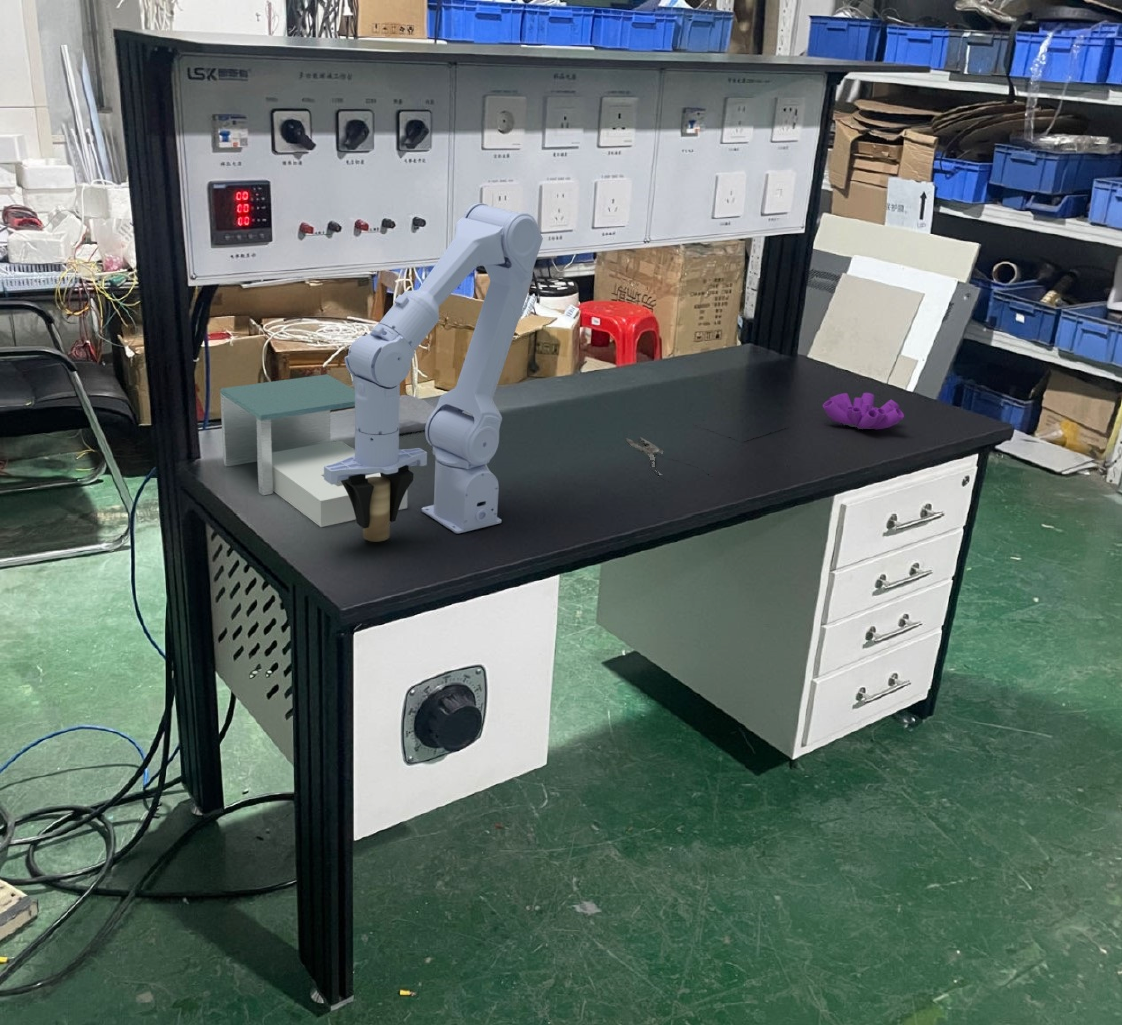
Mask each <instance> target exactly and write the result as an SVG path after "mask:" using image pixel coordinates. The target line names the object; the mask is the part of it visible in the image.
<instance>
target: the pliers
mask: <svg viewBox="0 0 1122 1025" xmlns="http://www.w3.org/2000/svg"><path fill="white" fill-rule="evenodd" d="M639 439H640V440H641V441H642V442H644V443H643V445H640V443H638V442H634V440H632V439H629V438H627V437H626V439H625V441H627V442H628V443H629V444H630V445H631V446H632V447H635V448H637V449H638V450H640V451H642V452H645V453H646V454H647V455H648V456H649V457H650V460H654V461H655V458H656V456H655V457H654V455H653V454H654V453H661V454H663V452H665V451H664V450H662V449H661V448H659V447H658V446H657V445H656V444H653V443H651V442H650V441H648V440H646V439H645V438H643V437H641V436H640V437H639V438H638V440H639ZM640 440H639V441H640ZM641 441H640V442H641ZM627 442H626V443H627ZM642 442H641V443H642ZM628 443H627V444H628ZM629 444H628V445H629ZM644 444H645V445H649V446H644ZM630 445H629V446H630ZM631 446H630V447H631ZM650 460H649V461H650ZM654 461H653V462H652V463H653V464H652V467H655V462H654ZM655 471H656V470H655ZM657 471H658V470H657ZM657 471H656V472H657ZM658 473H659V475H663V474H662V473H660V472H659V471H658Z"/></svg>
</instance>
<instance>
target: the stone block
mask: <svg viewBox="0 0 1122 1025" xmlns="http://www.w3.org/2000/svg"><path fill="white" fill-rule="evenodd" d="M435 408H436V407H434V406H433V405H431V404H430V403H428V402H426V400H424V399H421V398H419V397H418V396H412V395H407V394H402V395H400V403H399V435H400V434H405V433H406V434H407V433H414V432H415V433H416V432H421V431H425V427H426V423H427V420H428V418H429V416H430V415H431V414H432V412H433V411H434V410H435Z"/></svg>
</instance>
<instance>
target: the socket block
mask: <svg viewBox="0 0 1122 1025" xmlns="http://www.w3.org/2000/svg"><path fill="white" fill-rule="evenodd" d="M354 455H355V448H353V447H351V446H349V445H348V444H346V443H345V442H344V441H342V440H336V441H331V442H329V443H323V444H318V445H312V446H306V447H300V448H295V449H289V450H283V451H277V452H272V484H273V493H275V494H276V495H278V496H279V497H280V498H282V499H283V500H284V501H286V502H287V503H289V504H290V505H291V507H293V508H295V509H297V511H299V512H301V514H302V515H304V516H306V518H308V519H310V520H311V521H312V522H314V523H315V524H316V525H317V526H319V527H320V528H324V527H329V526H333V525H337V524H338V525H339V524H341V523H347V522H351V521H354V520H355V521H356V517H355V513H354V509H353V506H352V503H351V500H350V498H349V495H348V493H347V491H346V489H345V488H344V486H343V484H342V482H341V481H338V483H337V484H332V485H331V484H330V483H328V482H327V481H325V480H324V466H327V465H331V464H334V463H337V462H340V461H342V460H344V459H347V458H349V457H352V456H354ZM257 459H258V455H257ZM368 477H381V474H380V473H376V474H371V475H366V478H368ZM404 509H408V489H407V490H406V492H405V494H404V496H403V499H402V501H401V504H400V507H399V510H398V511H401V510H404Z"/></svg>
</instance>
